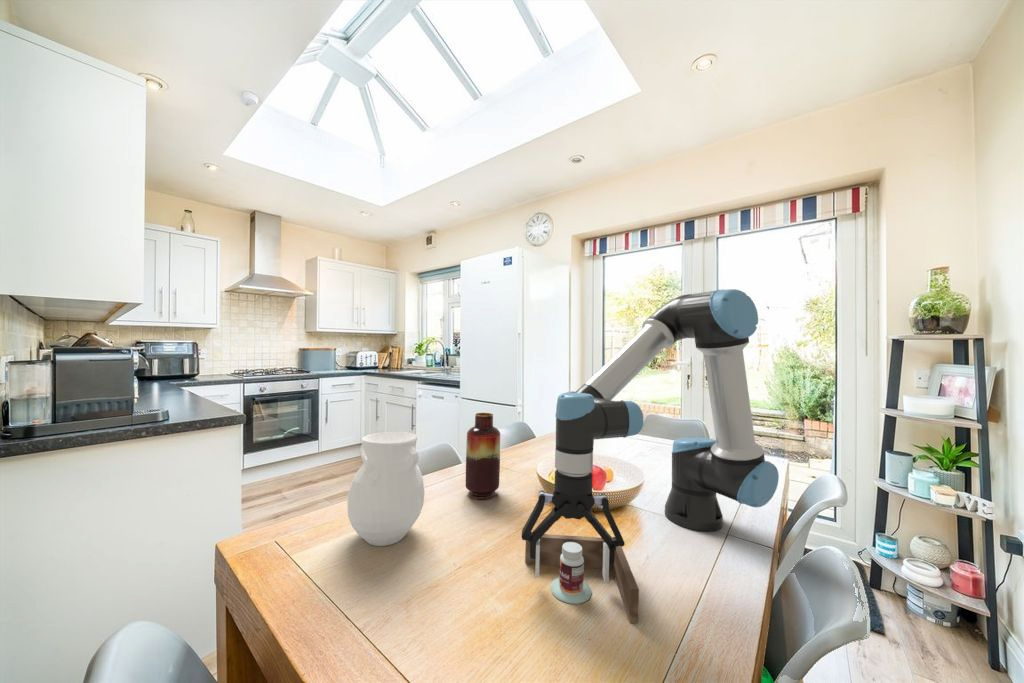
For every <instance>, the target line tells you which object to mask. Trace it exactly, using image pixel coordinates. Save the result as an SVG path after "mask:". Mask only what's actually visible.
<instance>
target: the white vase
mask: <svg viewBox="0 0 1024 683" xmlns="http://www.w3.org/2000/svg"><path fill="white" fill-rule="evenodd" d="M417 440H418V437H417V435H416V434H415V433H414V432H410V431H403V430H390V431H389V430H388V431H387V430H386V431H378V432H373V433H369V434H366V435H364V436H363V437H362V438H361V440H360V441H361V445H360V447H359V449H358V450H359V451H358V452H359V454H360V459H361V461H362V465H361V466H360V467H359V468H358V469H357V472H355V474H354V476H353V478H352V481H351V483H350V485H349V488H348V494H347V517H348V521H349V522H350V525H351V527H352V528H353V530H354V531H355V532H356V534H357V535H359V536H360V537H361V538H362V539H363V540H364V541H365V542H367V544H369V545H372V546H376V547H384V546H385V547H387V546H390V545H394V544H396V543H399V542H400V541H402V539H404V537H405V536H406V535H407V534H408V533H409V532H410V530H411V529H412V527H413V526H414V524H415V523H416V522H417V520H418V519H419V517H420V515H421V513H422V509H423V507H424V503H425V502H424V501H425V485H424V484H425V483H424V476H423V475H422V472H421V469H420V468H419V466H418V463H419V452H418V451H417V449H416V448H415V446H416V444H417Z"/></svg>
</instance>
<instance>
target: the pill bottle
mask: <svg viewBox="0 0 1024 683" xmlns="http://www.w3.org/2000/svg"><path fill="white" fill-rule="evenodd" d="M584 568H585V567H584V558H583V556H582V547H581V545H579V544H578V543H575V542H566V543H564V544H563V545H562V554H561V556H560V565H559V577H558V578H559V587H560V590H561V591H562V592H563V593H564V594H566V595H570V596H576V595H579V594H581V593H582V591H583V581H584V573H585V570H584Z"/></svg>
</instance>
